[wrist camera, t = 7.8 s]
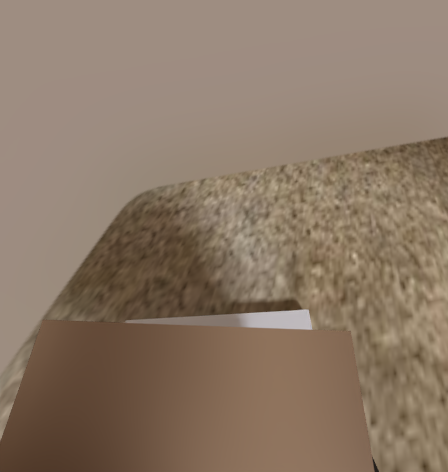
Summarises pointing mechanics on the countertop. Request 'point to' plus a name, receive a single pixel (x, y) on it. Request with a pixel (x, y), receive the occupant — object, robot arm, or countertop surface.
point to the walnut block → (187, 401)
